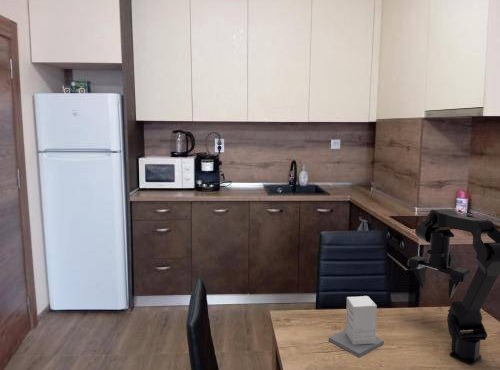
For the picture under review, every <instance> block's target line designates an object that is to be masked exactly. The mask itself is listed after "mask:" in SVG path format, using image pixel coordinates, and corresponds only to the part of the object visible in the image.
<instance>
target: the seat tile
mask: <svg viewBox="0 0 500 370" xmlns="http://www.w3.org/2000/svg"><path fill="white" fill-rule="evenodd" d="M328 342H330V343H333V344H334V345H336V346H338V347H340V348H341V349H343V350H345V351H347V352H348V353H351V354H353V355H354V356H356V357H358V358H361V357H363V356H365V355H366V354H368V353H370V352H373V350H376V349H377V348H380V347H381V346H383V345H384V343H385V340H383V339H382V338H379V337H377V336H376V341H375V344H358V345H353V344H352V342H351V341H350V339H349V337H348V336H347V334H346V328H345V329H344V330H342V331H341V330H340V331H339V332H337V333H334V334H333V335H331V336H328Z"/></svg>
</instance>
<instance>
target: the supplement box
mask: <svg viewBox="0 0 500 370" xmlns="http://www.w3.org/2000/svg"><path fill="white" fill-rule="evenodd" d="M377 307H378V305H377V304H376V303H375V302H374V301H373V300H372V299H371V298H370V296H368V295H363V296H362V295H360V296H347V297H346V308H345V309H346V312H345V313H346V315H345V316H346V317H345V320H346V321H345V329H346V334H347V336H348V337H349V339H350V341H351V342H352V344H353V345H358V344H375V341H376V337H377V315H378V314H377V309H378V308H377Z"/></svg>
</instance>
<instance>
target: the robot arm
mask: <svg viewBox="0 0 500 370" xmlns="http://www.w3.org/2000/svg"><path fill="white" fill-rule="evenodd" d="M451 228H452V229H456V230H459V231H460V230H461V231H463V232H466V233H467V232H468V233H471V236H472V247H473V249H474V251H475V253H476V255H475V260H476V262H477V266H478V267H477V269H476V271H475V273H474V276H473V277H472V272H471V270H470V269H468V268H465V267H461V266H460V267H459V266H457V261H458V256H456V255H454V254H452V250H451V249H450V245H451V243H450V242H451V238H454V237H455V234H454V232H452V231H451ZM414 230H415V232H414V233H415V236H416V237H417V238H418V239H420V240H422V241H424V242H426V243H429V249H427V254H428V255H429V258H428V259H429V260H428V259H427V257H424V256H420V255H416V256H415V255H414V256H413V257H410V258H409V259H408V260H407V266H408V267H409V268H410V270H411V271H413V273H414V274H415V276H416V278H417V280H418V282H419V285H420V287H421V289H422V290H425V289H426V279H427V278H426V277H427V276H426V275H427V271H428V269H430V270H434V271H437V272H440V273H444V274H447V275H449V277H450V279H448V298H449V299H452V297H453V296H454V294H455V292H456V290H457V288H458V286H459V285H460V284H461V283H464V282H466V281H469V280H471V279H472V280H471V281H470V283H469V285H468V288H467V290H466V292H465V295H464V297H463V298H462V300H459V301H452V303H451V304H450V307H449V309H448V310H447V312H448V313H447V316H446V321H447V328H448V333H449V336H450V338H451V344H450V345H451V348H450V351H451V352H449V356H450V357H453V358H455V359H457V360H459V361H461V362H464V363H466V364H468V365H471V366H472V365H474V364H475V363H477V362H478V361H479V360H481V359H482V358H483V357H482V355H480V348H481V341H486V340H487V337H488V333H487V331H486V328H485V326H484V324H483V314H482V312H481V309H482V307H483V305H484V303H485V301H486V299H487V297H488V295H489V294H490V291H491V289H492V288H493V286H494V284H495V282H496V280H497V278H498V276H499V275H500V229H498V228H496V226H495V224H494V222H493V221H492V220H489V219H481V218H476V217H470V216H465V215H460V214H458V212H456V211H455V210H453V209H450V208H449V209H448V208H446V209H445V208H443V209H442V208H441V209H431V210H430V211H429V213H428V214H427V216H426V217H425V219H422V220H421V222H420V224H418V225H417V226H416V228H415V229H414ZM482 235H487V237H488V238H490V239H491V240H492V241H493V242H484V241H483V240H482ZM453 266H454V267H455V266H457V267H455V268H452V267H453ZM450 267H451V268H450Z"/></svg>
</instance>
